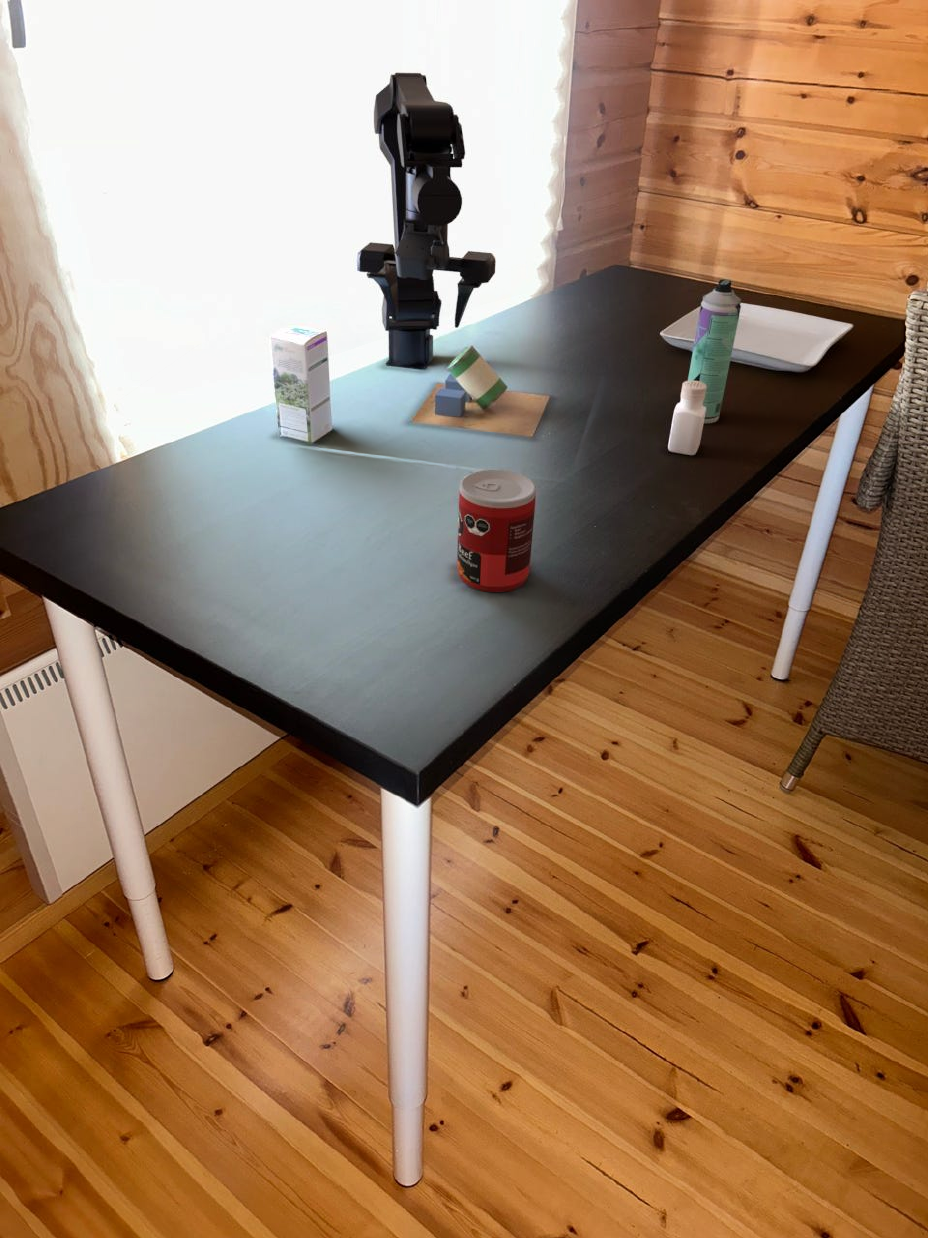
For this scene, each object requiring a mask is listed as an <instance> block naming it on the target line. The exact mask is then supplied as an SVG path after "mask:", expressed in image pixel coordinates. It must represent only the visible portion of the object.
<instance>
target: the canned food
mask: <svg viewBox="0 0 928 1238" xmlns="http://www.w3.org/2000/svg"><path fill="white" fill-rule="evenodd" d="M536 488H537V486H536V484H535V483H534V481H533V480H532V479H530V478H529V477H527V476H526V475H523V474H521V473H518V472H515V471H510V470H504V469H485V470H479V471H475V472H472V473H470V474H467V475H466V476H464V477H463V478H462V479H461V481H460V484H459V489H458V490H459V492H458V513H457V548H456V549H457V551H456V553H457V554H456V569H457V573H458V576H459V578H460V580H461V582H463V583H464V584H465V585H467V586H469V587H470V588H473V589H474V590H479V591H482V592H488V593H503V592H509V591H513V590H516V589H518V588H519V587H521V586H523V585H524V583H526V581H527V578H528V576H529V574H530V566H531V555H532V544H533V535H534V522H535V513H536V512H535V510H536V499H537V489H536Z"/></svg>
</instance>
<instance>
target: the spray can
mask: <svg viewBox="0 0 928 1238" xmlns="http://www.w3.org/2000/svg"><path fill="white" fill-rule="evenodd" d="M740 303H742V299H741V298H740V297H738V296H737V295H736V294H735V291H734V290H733V288H732V280H730V279H726V278H725V279H719V280H718V284H717V286H715V288H713V290H712V291H710V292H709V293H706V294H704V295H703V296H702V301H701V303H700V306H701V308H700V314H699V320H698V325H697V331H696V337H695V342H694V348H693V352H692V355H691V361H690V365H689V366H690V367H689V371H688V372H689V373H688V376H687V381H690V380H691V381H699V382H702V383H704V384H706V387H707V388H706V392H705V398H704V400H703V406H704V407H706V413H705V419H704V424H713V423H716V422H717V421H719V418H720V414H721V410H722V404H723V399H724V396H725V395H724V394H725V389H726V383H727V380H728V374H729V370H730V369H729V368H730V364H731V361H730V359H731V354H732V349H733V344H734V339H735V334H736V329H737V324H738V319H739V314H740V309H741V305H740Z"/></svg>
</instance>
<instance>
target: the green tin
mask: <svg viewBox="0 0 928 1238" xmlns="http://www.w3.org/2000/svg"><path fill="white" fill-rule="evenodd" d="M446 370H447V371H448V372H449V374H451V375H452V376H453V377H454V378H455V379H456V380H457V381H458V383H459V384H460V385H461V386H462V387H463V388H464V390H465V391H466V392H467V393H468V394H469V395H470V396H471V398H472V399H473V400H474V401H475V402H476V403H477V404H478V405H479V407H480V408H481V409H482V410H484V409H486V408H487V407H489V406H490V405H491V404H493V403H494V402H495V401H496V400H497V399H498V398H499V397H500V396H501V395H502V394H503V393H504V392H505V391H507V389H508V385H507V384H506V383H505V382H504V381H503V380H502V378H501V377H500V375H498V373H497V372H496V371H495V370H494V368H492V367H491V366H490V364H489V363H488V362H487V361H486V359H485V358H483V356H482V355H481V353H480V352H478V350H477V349H476V348H475V347H474V345H472V344H471V345H469V346H468V347H467V348H465V349H464V350H463V351H462V352H460V354H458V355H457V356H456V357H455V358H454V359H453V360H452V361H451V362H450V363H449V364H448V366H446Z"/></svg>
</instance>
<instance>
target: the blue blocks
mask: <svg viewBox="0 0 928 1238" xmlns="http://www.w3.org/2000/svg"><path fill="white" fill-rule="evenodd" d="M444 384H445V388H440V389H439V390H438V392H437V393H436V394H435V414H437V415H445V416H453V417H461V416H462V415H463V413H464V411H465V407H466V402H471V400H472V398H471V396H470V395H469V394H468V393H467V392H466V391H465V390H464V388H463V387H462V386H461V385H460V384H459V383H458V381H457V380H456V379H455V378H454V377H453V376H452V375H451V373H449V374H448V376H447V377H446V379H445V380H444Z"/></svg>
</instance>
